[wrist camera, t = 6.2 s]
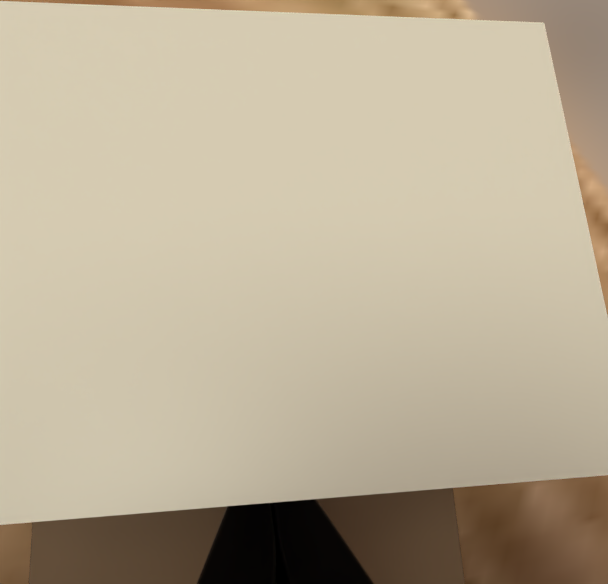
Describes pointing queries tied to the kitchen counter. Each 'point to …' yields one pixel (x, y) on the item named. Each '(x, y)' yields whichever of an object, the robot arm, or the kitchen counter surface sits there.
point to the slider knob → (286, 261)
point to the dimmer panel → (204, 525)
